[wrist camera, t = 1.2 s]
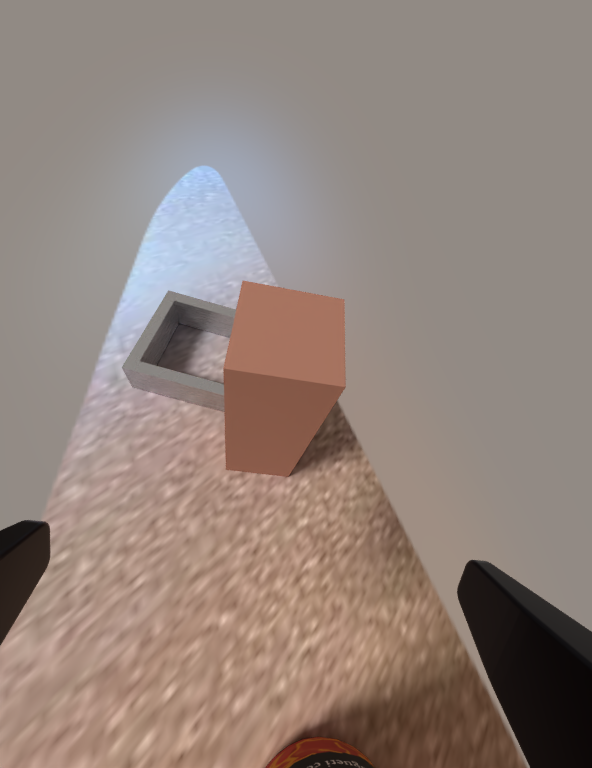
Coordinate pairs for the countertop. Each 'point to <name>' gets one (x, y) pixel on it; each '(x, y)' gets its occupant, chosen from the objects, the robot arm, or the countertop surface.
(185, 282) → the countertop surface
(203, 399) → the gray square planter
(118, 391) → the countertop surface
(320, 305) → the salmon brown rectangular block
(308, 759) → the canned food
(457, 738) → the countertop surface
